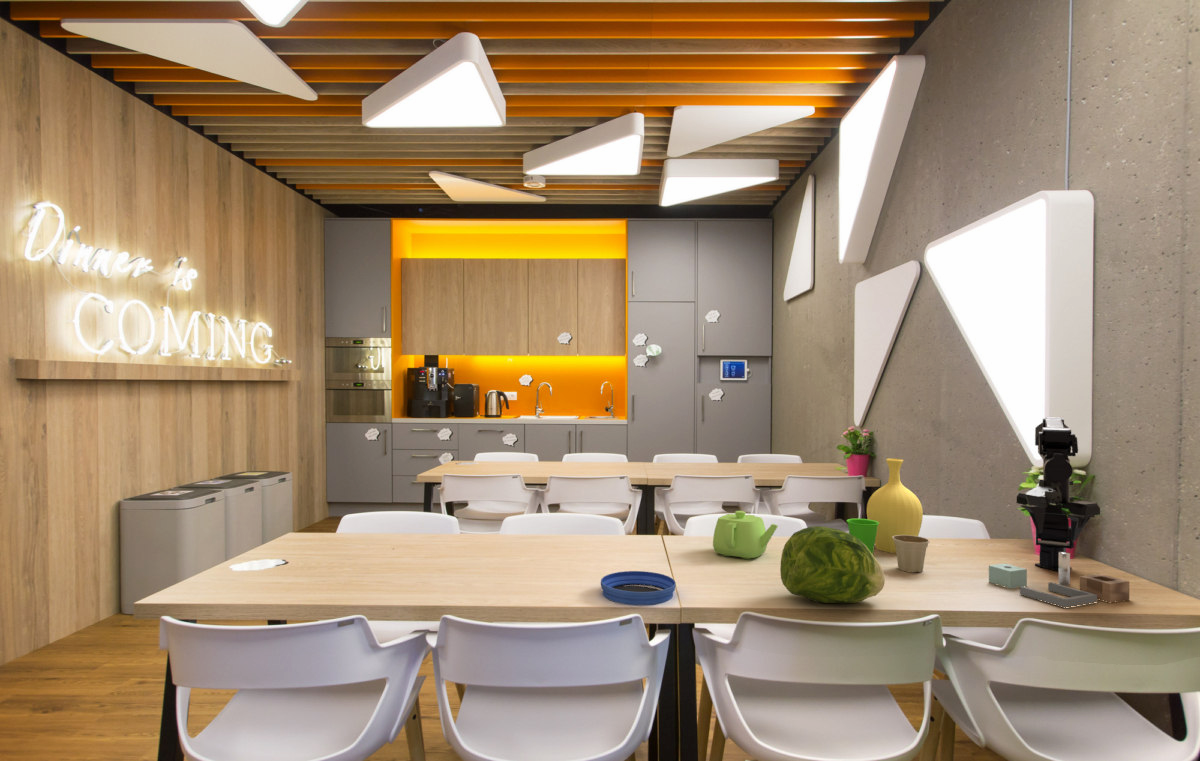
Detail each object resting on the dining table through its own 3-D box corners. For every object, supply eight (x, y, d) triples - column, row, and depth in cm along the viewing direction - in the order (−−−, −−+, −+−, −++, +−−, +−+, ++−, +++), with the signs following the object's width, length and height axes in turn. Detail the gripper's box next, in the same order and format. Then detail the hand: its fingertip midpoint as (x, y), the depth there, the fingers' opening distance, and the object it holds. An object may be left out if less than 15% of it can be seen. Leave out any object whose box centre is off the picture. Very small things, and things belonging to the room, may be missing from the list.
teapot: (787, 553, 205) (787, 510, 205) (765, 567, 188) (765, 521, 189) (729, 545, 215) (730, 504, 215) (704, 558, 198) (704, 513, 198)
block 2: (1098, 591, 168) (1098, 573, 168) (1129, 600, 162) (1129, 581, 162) (1079, 594, 166) (1079, 576, 166) (1110, 603, 159) (1110, 584, 159)
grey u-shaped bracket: (1051, 590, 169) (1051, 582, 169) (1097, 603, 159) (1097, 594, 159) (1019, 594, 165) (1019, 586, 165) (1065, 608, 155) (1065, 599, 155)
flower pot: (933, 575, 182) (933, 543, 182) (896, 573, 184) (896, 541, 184) (924, 566, 191) (924, 535, 191) (888, 564, 193) (888, 534, 193)
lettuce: (909, 581, 148) (885, 519, 163) (805, 562, 147) (791, 502, 162) (875, 631, 158) (855, 568, 173) (778, 614, 157) (767, 552, 172)
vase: (932, 556, 203) (932, 462, 203) (878, 555, 203) (878, 462, 203) (908, 543, 219) (909, 456, 219) (858, 543, 219) (859, 456, 219)
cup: (878, 556, 202) (878, 519, 202) (880, 564, 193) (880, 525, 193) (845, 554, 205) (846, 517, 205) (846, 561, 196) (846, 523, 196)
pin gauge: (1062, 582, 176) (1062, 551, 176) (1072, 584, 174) (1072, 553, 174) (1056, 583, 175) (1056, 552, 175) (1065, 585, 173) (1065, 554, 173)
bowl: (654, 612, 151) (654, 596, 151) (586, 598, 161) (586, 583, 161) (687, 592, 167) (687, 577, 167) (624, 580, 176) (624, 566, 176)
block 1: (1004, 580, 178) (1005, 563, 178) (1026, 586, 173) (1026, 568, 173) (988, 582, 176) (988, 565, 176) (1010, 589, 170) (1010, 571, 170)
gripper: (1001, 473, 181) (1000, 531, 181) (1069, 483, 164) (1069, 547, 164) (1031, 471, 185) (1031, 528, 185) (1101, 481, 168) (1101, 544, 168)
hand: (1056, 536), depth 175 cm, fingers open, 9 cm apart
